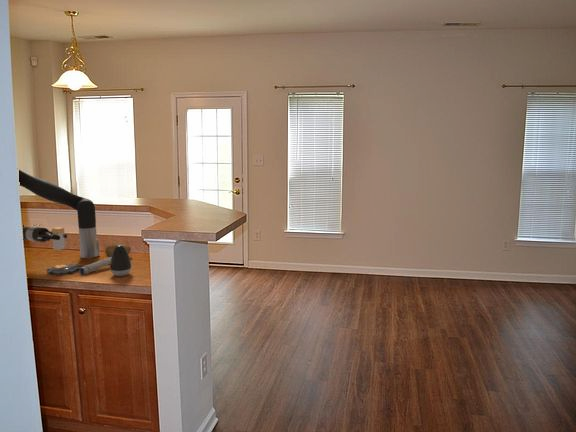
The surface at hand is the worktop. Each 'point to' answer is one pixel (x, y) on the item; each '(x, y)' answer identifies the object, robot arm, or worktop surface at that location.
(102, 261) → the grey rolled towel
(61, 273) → the sprocket
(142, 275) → the worktop surface
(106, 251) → the potato
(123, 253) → the black egg-shaped piece
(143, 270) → the worktop surface
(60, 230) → the grey translucent cylinder
